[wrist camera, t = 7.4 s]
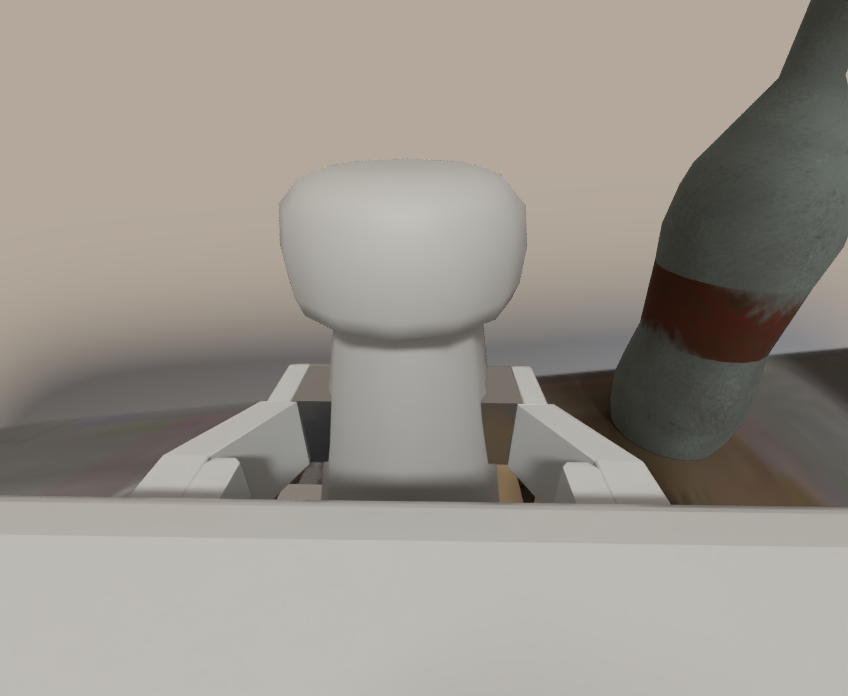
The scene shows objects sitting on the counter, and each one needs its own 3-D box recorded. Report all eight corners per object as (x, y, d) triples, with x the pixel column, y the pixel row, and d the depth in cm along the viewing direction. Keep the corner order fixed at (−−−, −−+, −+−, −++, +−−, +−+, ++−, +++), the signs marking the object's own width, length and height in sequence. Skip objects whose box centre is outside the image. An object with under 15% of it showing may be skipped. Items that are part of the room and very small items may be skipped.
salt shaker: (349, 500, 16) (291, 149, 9) (487, 505, 15) (538, 150, 9) (306, 680, 11) (96, 192, 4) (509, 690, 10) (671, 195, 4)
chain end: (396, 468, 28) (395, 438, 26) (389, 536, 23) (387, 504, 22) (309, 466, 28) (303, 436, 26) (284, 533, 23) (275, 501, 22)
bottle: (612, 453, 29) (814, -106, 15) (595, 387, 37) (716, -23, 22) (748, 478, 28) (1144, -139, 13) (701, 403, 35) (912, -35, 20)
